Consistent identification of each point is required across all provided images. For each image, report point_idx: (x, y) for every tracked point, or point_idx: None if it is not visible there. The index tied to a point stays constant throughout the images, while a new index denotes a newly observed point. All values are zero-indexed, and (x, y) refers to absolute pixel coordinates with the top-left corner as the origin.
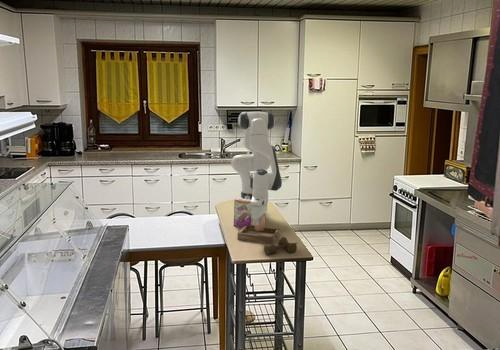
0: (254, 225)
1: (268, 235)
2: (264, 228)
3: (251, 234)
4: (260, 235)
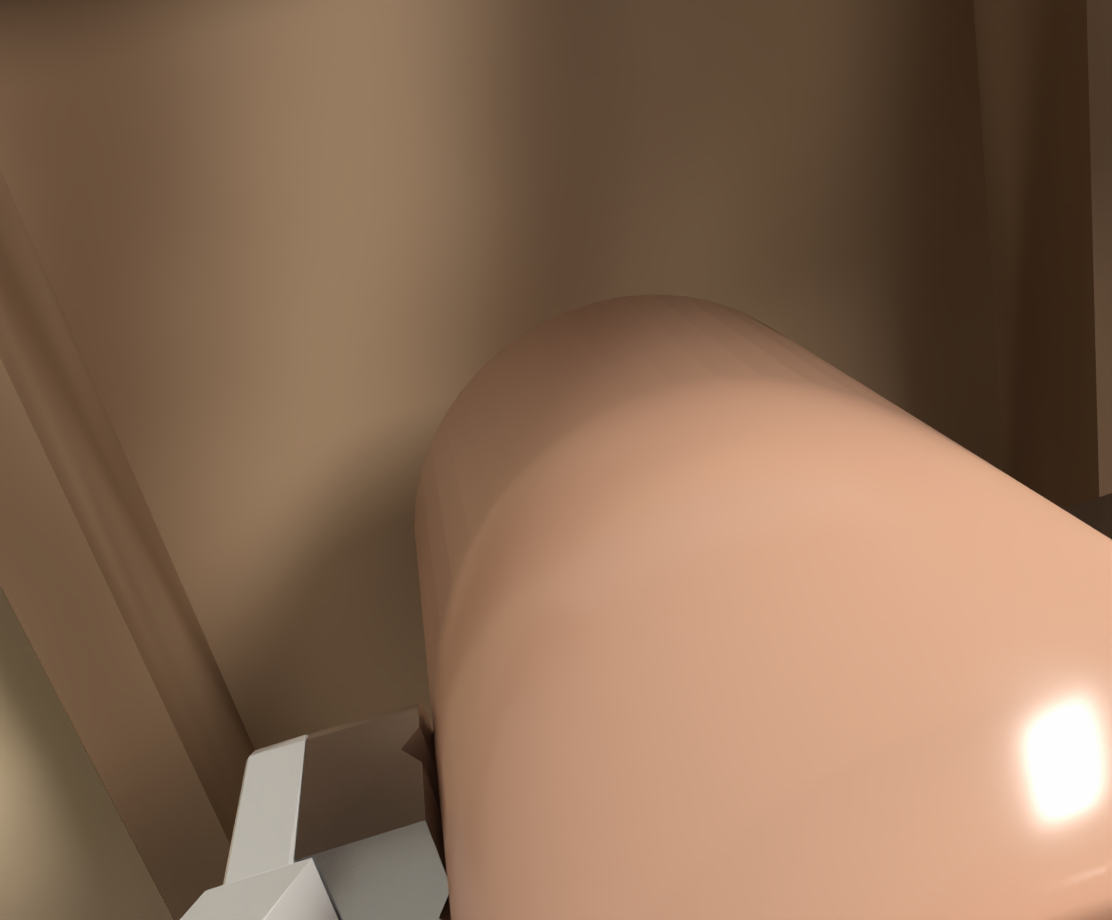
0: (519, 418)
1: None
2: (1073, 412)
3: (14, 479)
4: (196, 790)
